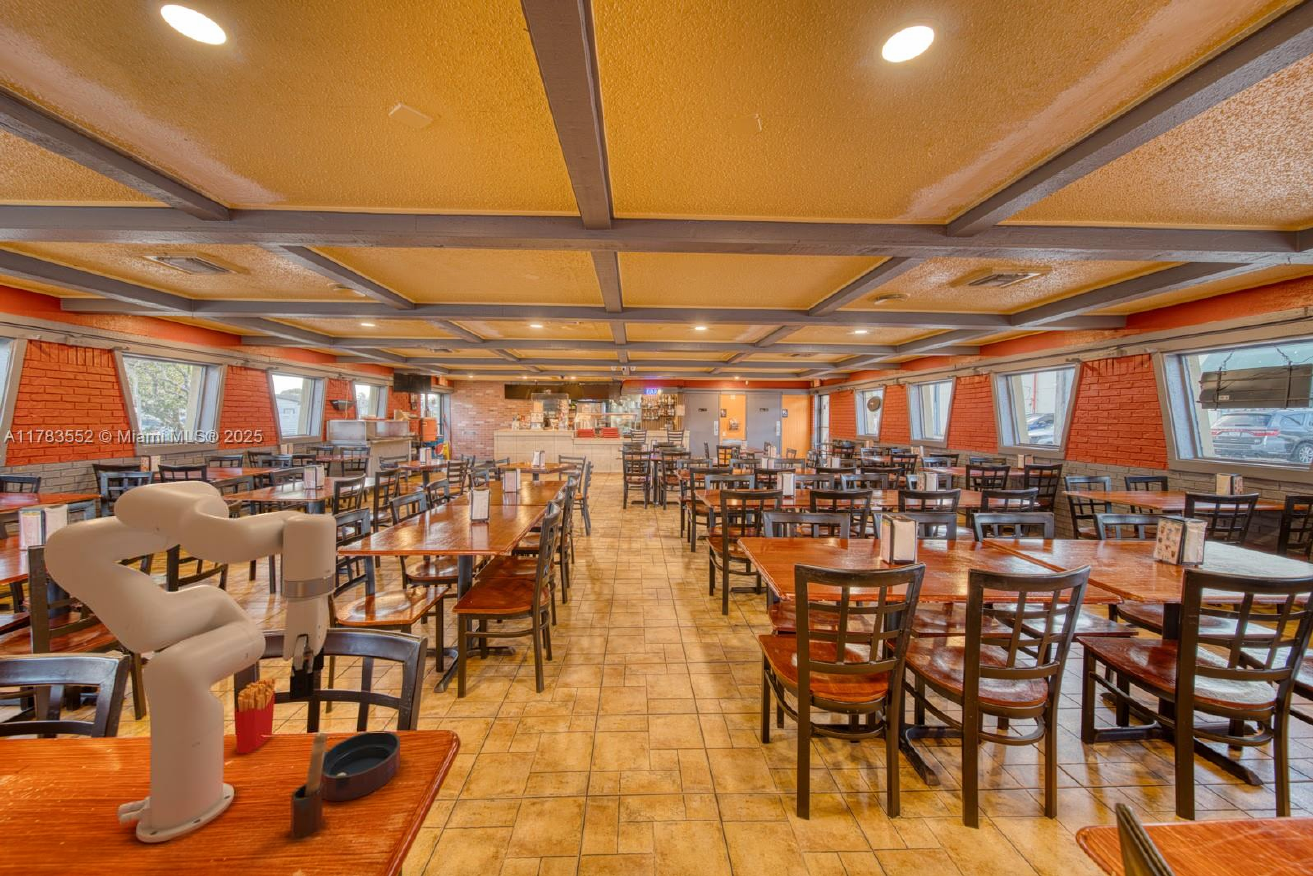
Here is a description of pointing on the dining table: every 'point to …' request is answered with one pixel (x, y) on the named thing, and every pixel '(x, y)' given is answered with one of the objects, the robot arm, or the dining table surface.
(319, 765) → the stick
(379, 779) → the bowl
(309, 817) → the holder
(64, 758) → the dining table surface
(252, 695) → the french fries
